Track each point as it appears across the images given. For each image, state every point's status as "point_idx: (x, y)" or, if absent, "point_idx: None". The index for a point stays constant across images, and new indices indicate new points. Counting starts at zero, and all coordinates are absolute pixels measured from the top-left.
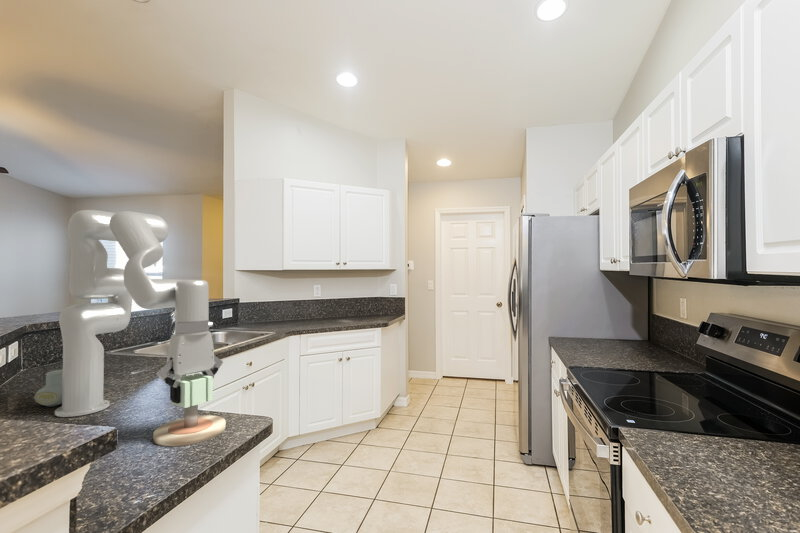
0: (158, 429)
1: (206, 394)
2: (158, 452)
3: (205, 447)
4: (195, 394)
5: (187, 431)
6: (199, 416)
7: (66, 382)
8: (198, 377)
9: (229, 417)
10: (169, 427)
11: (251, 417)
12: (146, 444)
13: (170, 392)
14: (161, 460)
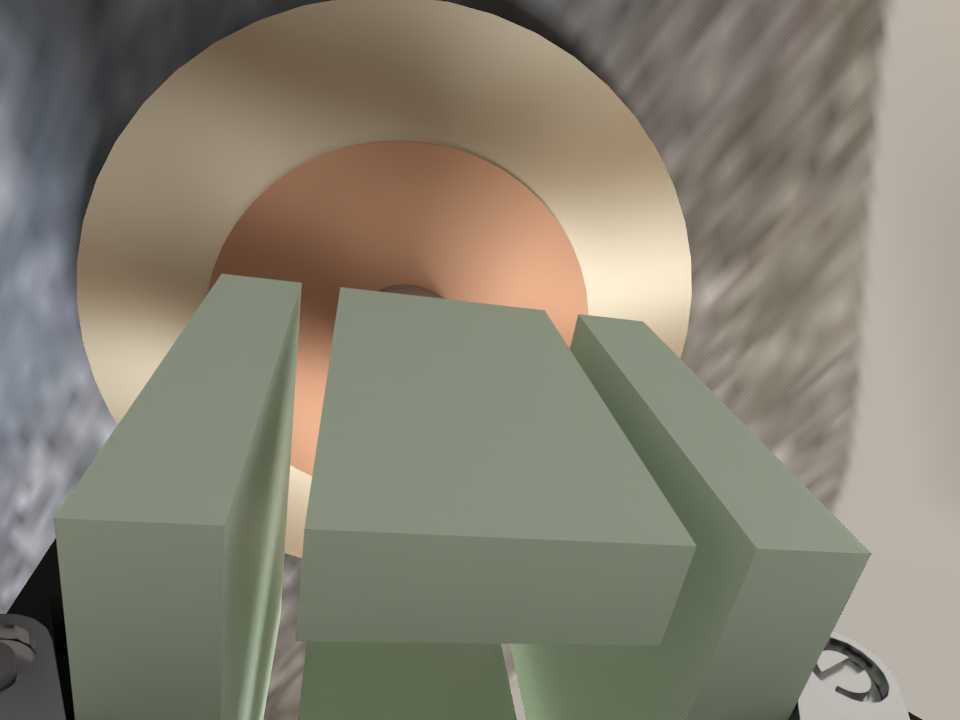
0: (185, 109)
1: (529, 656)
2: (41, 441)
3: (288, 611)
4: None
5: (305, 427)
6: (629, 163)
7: None
8: (661, 686)
9: (780, 304)
10: (268, 192)
11: (815, 452)
12: (33, 206)
13: (44, 568)
14: (3, 565)
